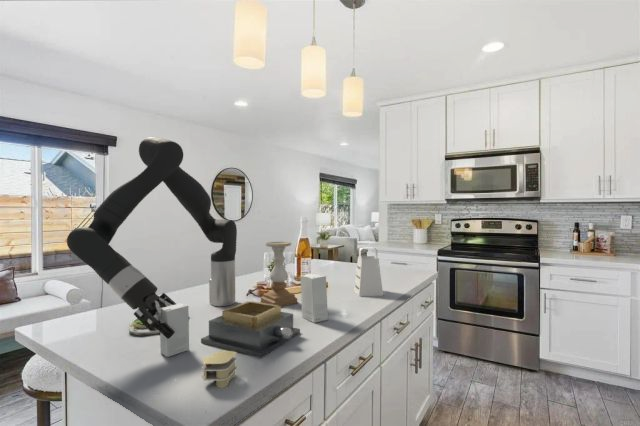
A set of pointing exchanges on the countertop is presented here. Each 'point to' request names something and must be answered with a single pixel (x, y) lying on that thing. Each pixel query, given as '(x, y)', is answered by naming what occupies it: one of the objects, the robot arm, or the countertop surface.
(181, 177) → the robot arm
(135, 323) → the salad plate
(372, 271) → the grater
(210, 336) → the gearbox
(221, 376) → the tan layered stack
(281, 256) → the candle holder
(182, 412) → the countertop surface
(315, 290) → the skincare box
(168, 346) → the skincare box
